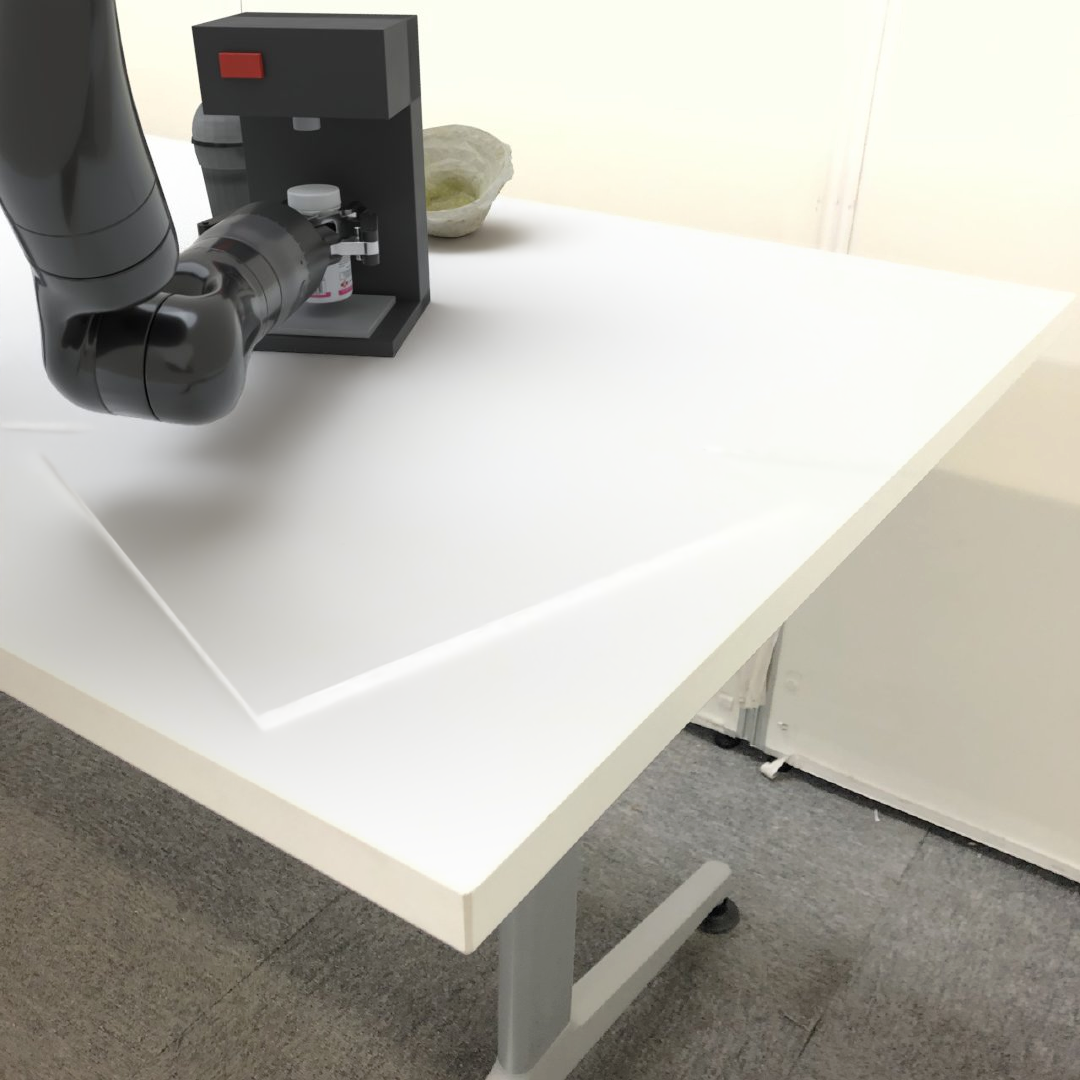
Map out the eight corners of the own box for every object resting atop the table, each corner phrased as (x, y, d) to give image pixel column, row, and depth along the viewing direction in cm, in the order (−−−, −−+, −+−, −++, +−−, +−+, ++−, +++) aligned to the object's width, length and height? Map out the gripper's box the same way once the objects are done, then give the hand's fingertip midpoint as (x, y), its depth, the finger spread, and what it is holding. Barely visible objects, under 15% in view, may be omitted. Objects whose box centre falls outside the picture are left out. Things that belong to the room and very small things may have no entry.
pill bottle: (336, 283, 94) (327, 180, 90) (363, 297, 90) (355, 190, 86) (283, 293, 91) (272, 187, 87) (309, 308, 88) (298, 198, 84)
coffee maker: (430, 300, 99) (417, 14, 88) (393, 357, 87) (372, 33, 76) (277, 294, 101) (244, 11, 89) (220, 348, 89) (173, 30, 77)
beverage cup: (232, 278, 105) (200, 45, 95) (195, 262, 109) (161, 38, 99) (300, 263, 109) (276, 39, 99) (261, 248, 113) (235, 32, 103)
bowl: (354, 247, 114) (346, 144, 109) (401, 214, 126) (395, 120, 121) (496, 257, 111) (494, 152, 106) (530, 222, 123) (530, 126, 118)
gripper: (352, 219, 73) (411, 166, 88) (142, 211, 75) (234, 161, 89) (360, 330, 77) (415, 262, 91) (160, 320, 78) (246, 255, 93)
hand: (325, 212), depth 90 cm, fingers closed on pill bottle, 4 cm apart
